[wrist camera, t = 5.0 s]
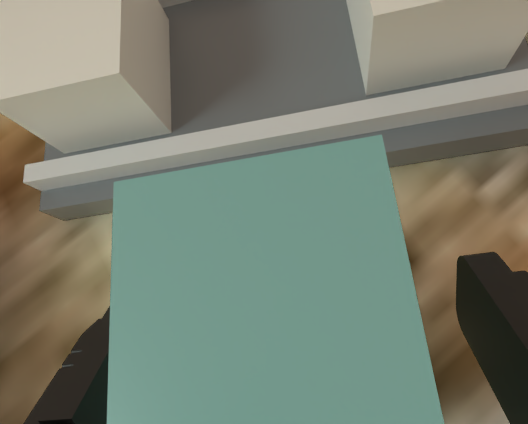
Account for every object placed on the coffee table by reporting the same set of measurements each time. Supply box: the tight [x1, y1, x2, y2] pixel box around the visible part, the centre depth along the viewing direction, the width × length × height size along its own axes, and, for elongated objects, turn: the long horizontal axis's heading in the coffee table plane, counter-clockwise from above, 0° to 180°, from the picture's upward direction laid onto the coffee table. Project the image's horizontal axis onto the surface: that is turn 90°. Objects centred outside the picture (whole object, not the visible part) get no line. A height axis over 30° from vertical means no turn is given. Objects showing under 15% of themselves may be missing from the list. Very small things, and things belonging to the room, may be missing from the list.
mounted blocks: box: [0, 0, 528, 154], centre depth 15 cm, size 18×6×4 cm, turn 96°
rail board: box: [23, 0, 528, 220], centre depth 17 cm, size 20×11×2 cm, turn 96°
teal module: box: [107, 135, 444, 424], centre depth 9 cm, size 4×6×10 cm, turn 6°
